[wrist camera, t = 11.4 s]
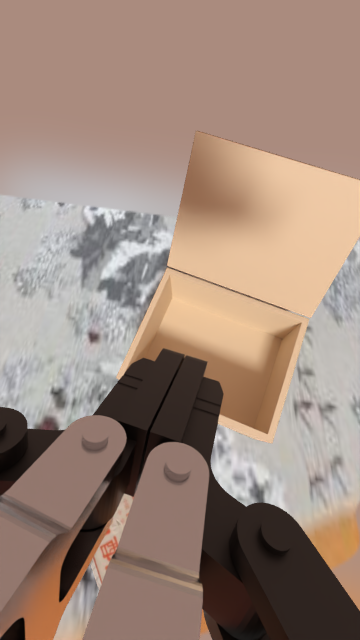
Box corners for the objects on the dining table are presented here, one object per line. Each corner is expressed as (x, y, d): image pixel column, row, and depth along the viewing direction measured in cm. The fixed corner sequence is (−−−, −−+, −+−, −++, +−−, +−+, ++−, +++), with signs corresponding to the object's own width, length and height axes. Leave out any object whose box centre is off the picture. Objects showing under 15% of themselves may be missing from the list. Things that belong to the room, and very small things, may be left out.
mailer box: (128, 386, 38) (116, 377, 31) (170, 293, 42) (167, 266, 35) (254, 439, 36) (272, 443, 29) (286, 337, 40) (309, 318, 33)
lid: (195, 131, 27) (197, 130, 27) (167, 265, 34) (168, 263, 35) (388, 189, 25) (386, 187, 25) (310, 317, 32) (310, 314, 33)
